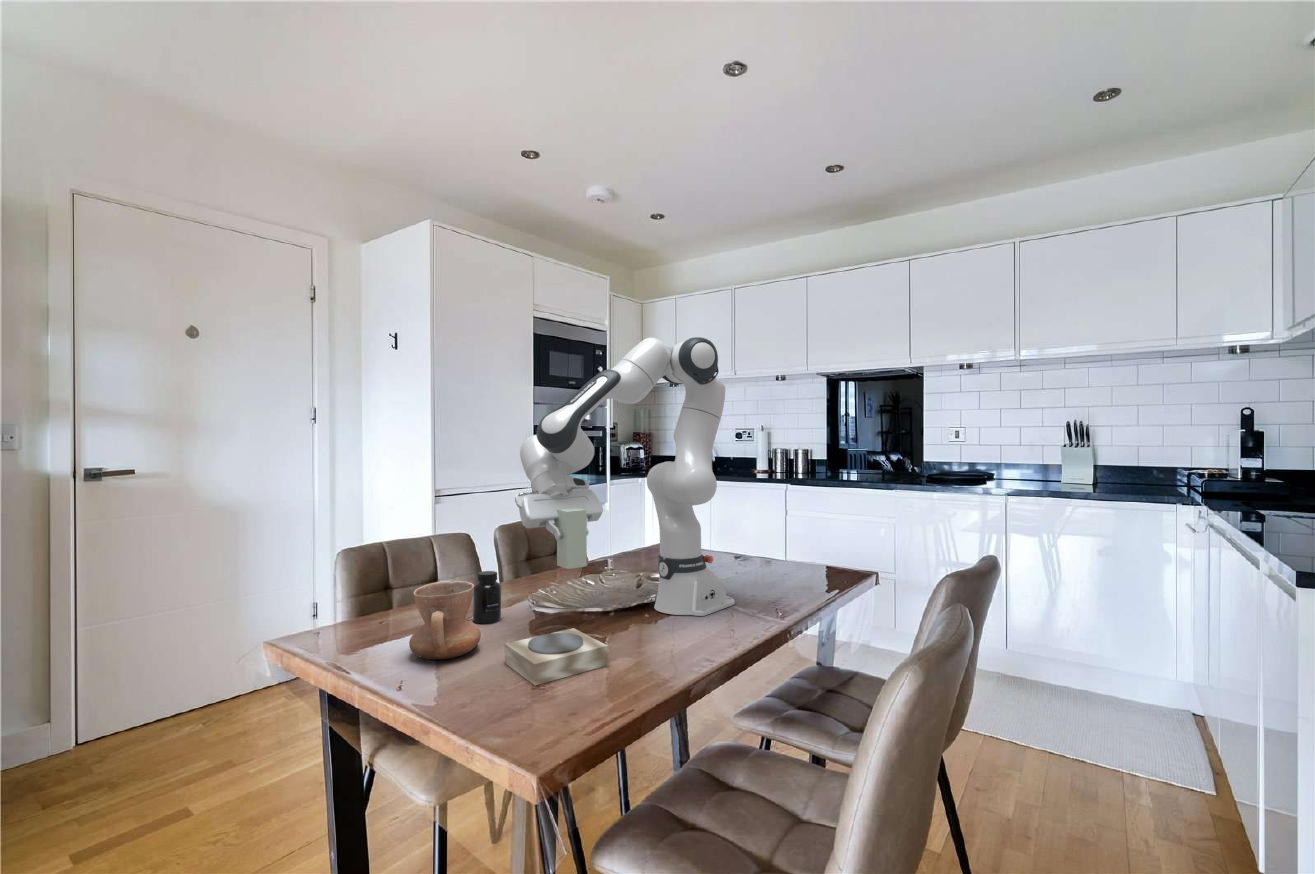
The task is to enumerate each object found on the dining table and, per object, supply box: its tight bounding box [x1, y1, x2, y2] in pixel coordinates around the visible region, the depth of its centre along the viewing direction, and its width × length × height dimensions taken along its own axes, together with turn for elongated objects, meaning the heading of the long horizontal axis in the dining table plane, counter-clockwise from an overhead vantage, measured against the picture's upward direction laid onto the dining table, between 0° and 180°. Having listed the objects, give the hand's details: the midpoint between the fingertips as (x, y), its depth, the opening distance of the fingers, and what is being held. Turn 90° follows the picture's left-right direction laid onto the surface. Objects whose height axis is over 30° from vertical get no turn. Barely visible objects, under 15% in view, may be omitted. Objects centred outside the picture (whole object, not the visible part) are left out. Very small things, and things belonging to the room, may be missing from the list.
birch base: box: [504, 627, 609, 686], centre depth 124 cm, size 16×14×5 cm
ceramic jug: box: [408, 580, 482, 660], centre depth 130 cm, size 18×14×14 cm
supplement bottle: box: [472, 570, 502, 625], centre depth 153 cm, size 7×7×12 cm
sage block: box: [556, 508, 588, 570], centre depth 141 cm, size 5×5×13 cm
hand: (573, 536), depth 140 cm, fingers closed on sage block, 5 cm apart
